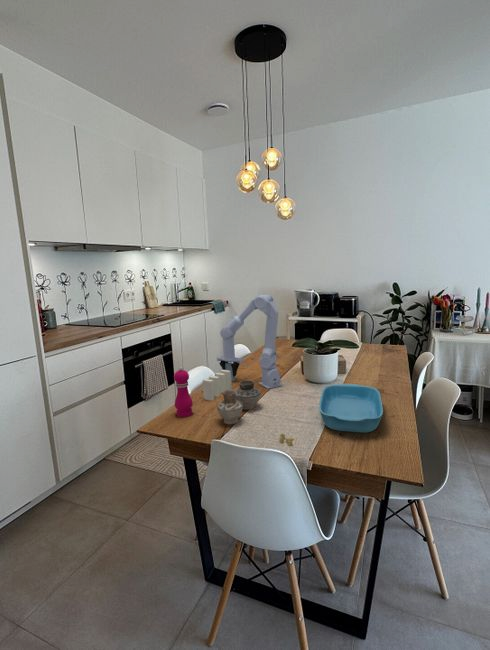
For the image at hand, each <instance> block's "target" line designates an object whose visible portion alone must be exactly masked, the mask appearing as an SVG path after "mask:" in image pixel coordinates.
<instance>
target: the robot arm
mask: <svg viewBox="0 0 490 650" xmlns="http://www.w3.org/2000/svg"><path fill="white" fill-rule="evenodd" d="M255 310H259V311H261V312H262V313H264V315H265V316H266V323H265V334H264V345H263V349H262V353H261V356H260V358H259V360H258V361H259V362H258V363H259V366H260V367H261V381H260V382H258V384H260V385H261V386H262V387H264V388H265V389H268V390H269V389H273V388H278V387H282V386H283V385H282V384H281V373H280V371H279V370H278V369H277V364H276V363H277V362H278V354H277V349H276V341H277V330H278V323H279V322H278V320H279V310H278V308H277V305H276V303H275V298H274V297H273V296H271V295H270V294H268V293H263V294H262V295H257V296H255V298H254V299H252V300H251V301H250V303H248V304H247V306H246V307H245V308H244V309H243V310H242V311H241V313H240V314H239V315H235V316H232V317H231V320H230V321H229V322H228V323H226V324H225V327H224V326H223V327H221V329H220V333H219V334H220V336H221V338H222V352H223V356H220V355H219V356H217V357H216V361H217V362H219V366H220V367H221V370H225V363H232V364H231V367H232V371H233V377H235V378H236V376H237V374H238V369H239V366H240V365H241V364H243V363H244V362H243V358H238V357H236V352H235V335H236V333H237V331H239V330H240V328H241V327H243V326H244V325H245V319H247V318H248V317H249V316H250V315H251V314H252V313H253V312H254V311H255Z"/></svg>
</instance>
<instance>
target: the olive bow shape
mask: <svg viewBox="0 0 490 650" xmlns="http://www.w3.org/2000/svg"><path fill="white" fill-rule="evenodd" d="M285 435H286V434H285V433H280V437H279V438H278V439H279V443H280V444H283V443H284V442H285V443H287V445H288V446H289V447H292V446H293V440H295V439H294V437H286V436H285ZM284 439H285V440H284Z"/></svg>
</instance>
